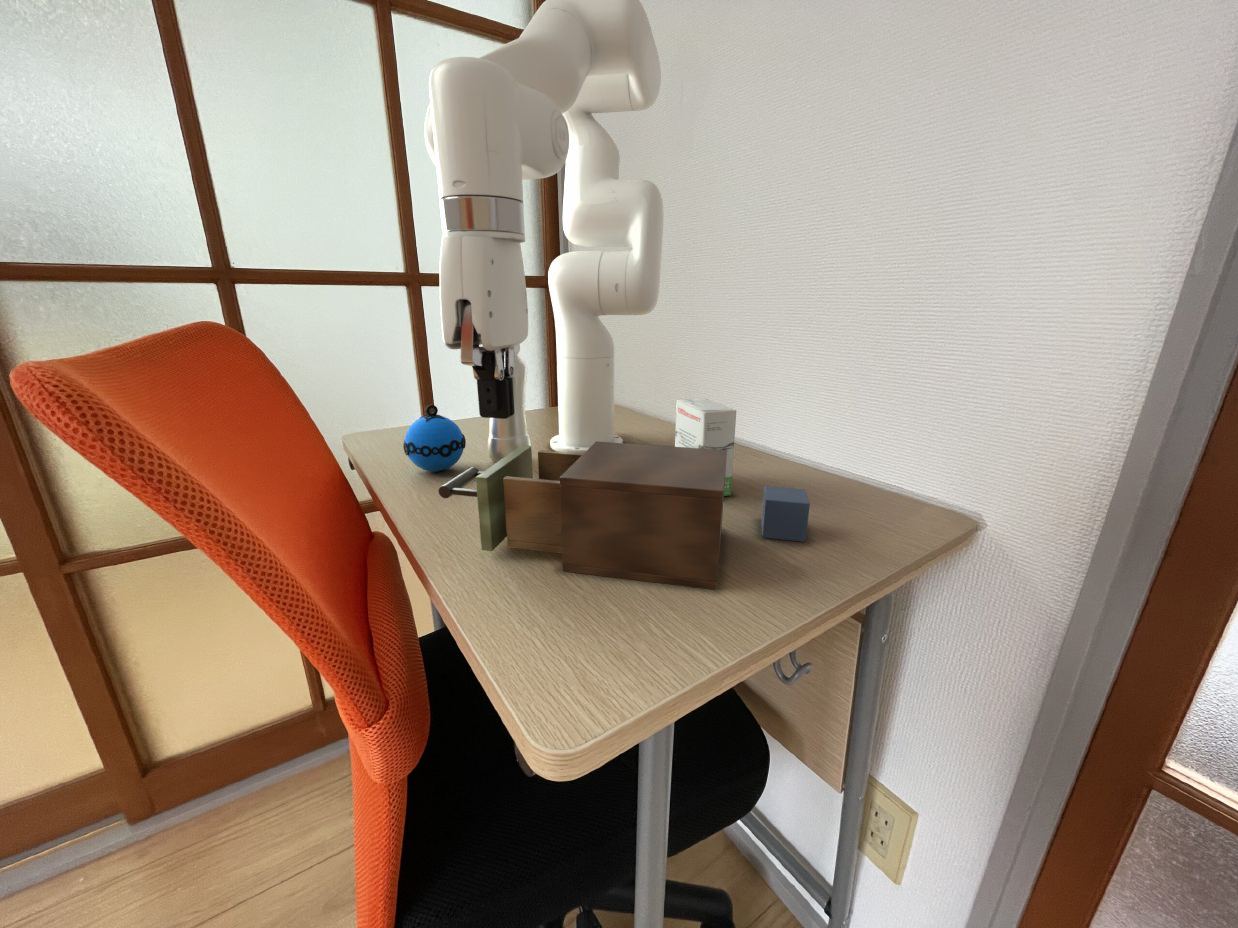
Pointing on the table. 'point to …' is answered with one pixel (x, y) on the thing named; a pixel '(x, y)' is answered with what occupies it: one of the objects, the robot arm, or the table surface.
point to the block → (785, 513)
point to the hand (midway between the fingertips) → (497, 416)
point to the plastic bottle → (511, 419)
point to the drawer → (518, 499)
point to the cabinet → (644, 513)
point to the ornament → (434, 442)
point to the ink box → (707, 429)
